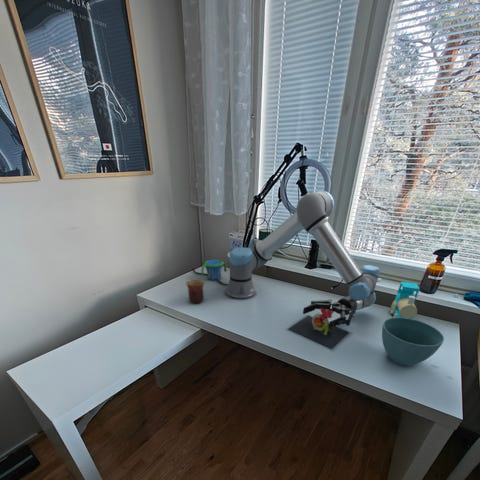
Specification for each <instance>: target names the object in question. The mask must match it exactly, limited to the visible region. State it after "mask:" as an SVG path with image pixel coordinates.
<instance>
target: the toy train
mask: <svg viewBox="0 0 480 480" xmlns="http://www.w3.org/2000/svg"><path fill="white" fill-rule="evenodd" d="M419 292H420V287H419V285H418V283H415V282H407V281H401V282H400V284H399V286H398V290H397V293H396V295H395V299H394V300H393V301H392V304H391V306H390V314H391V315H393V316H392V318H409V319H414V320H416V317H415V316H417V314H418V309H417V306H416V304H415V302H416V299H417V297H418V295H419Z"/></svg>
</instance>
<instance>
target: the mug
mask: <svg viewBox="0 0 480 480" xmlns="http://www.w3.org/2000/svg"><path fill="white" fill-rule="evenodd" d="M185 285H186V287H187V289H188V300H189V302H190V303H191V304H194V305H195V304H196V305H197V304H201V303H202V302H203V301H204V297H205V295H204V285H205V281H204V280H203V279H200V278H193V279H189V280H187V281H186V283H185Z"/></svg>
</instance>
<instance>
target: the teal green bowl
mask: <svg viewBox="0 0 480 480" xmlns="http://www.w3.org/2000/svg"><path fill="white" fill-rule="evenodd" d="M444 340H445V337H444V335H443V333H442V332H441V331H440V330H439V329H437V328H436V327H434V326H432V325H430V324H428V323H426V322H424V321H421V320H417V319H415V320H414V319H409V318H393V317H390V318H387V319H385V320H384V322H383V324H382V329H381V341H382V346H383V348H384V350H385V352H386V354H387V356H388V358H389V359H390V360H392V362H394V363H396V364H399V365H401V366H414V365H417V364H420V363H422V362H425V361H426V360H427V359H429V358H430V357H432V356H433V355H434V354H435V353H437V351H438V350H439V349H440V347H441V346H442V345H443V343H444Z"/></svg>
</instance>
